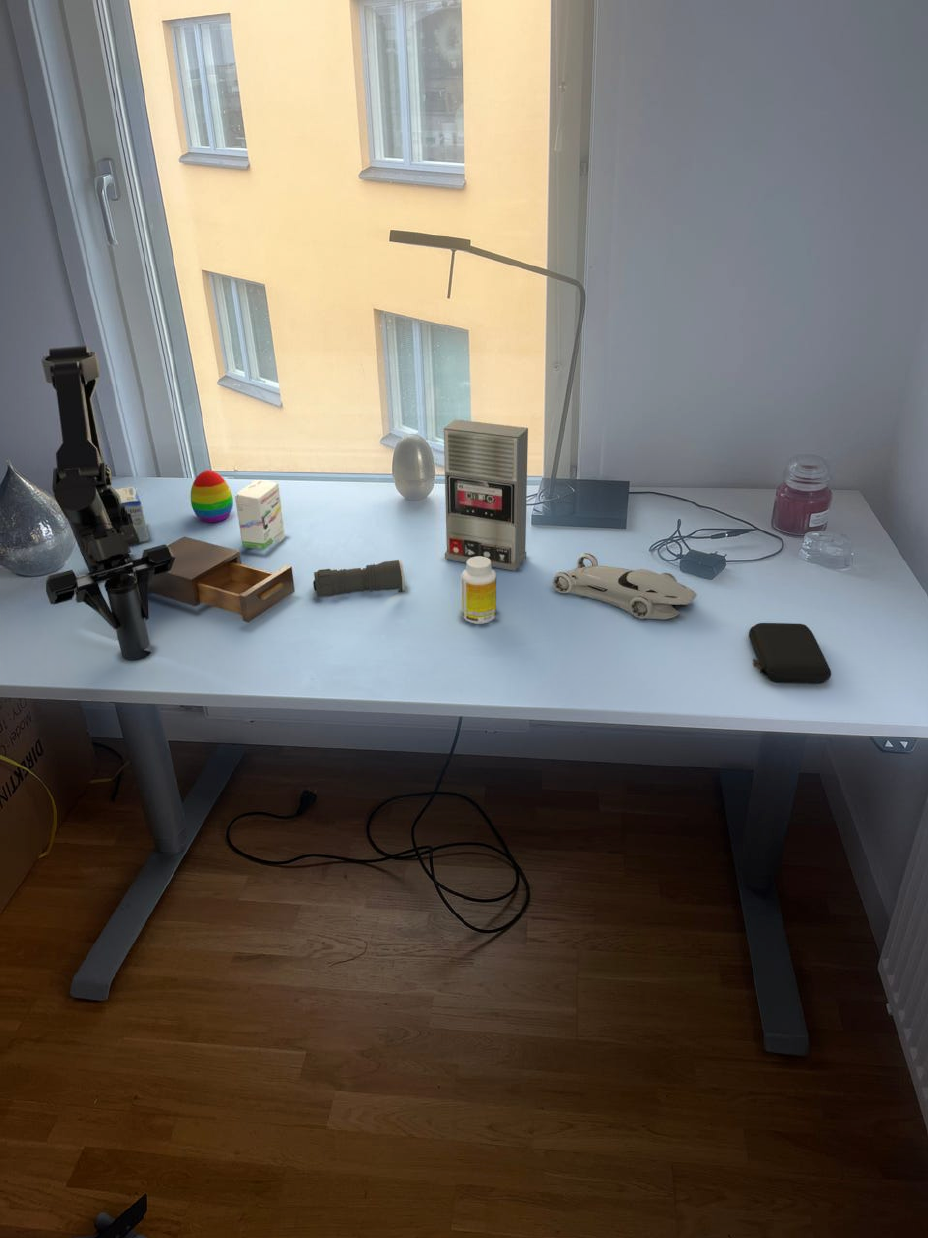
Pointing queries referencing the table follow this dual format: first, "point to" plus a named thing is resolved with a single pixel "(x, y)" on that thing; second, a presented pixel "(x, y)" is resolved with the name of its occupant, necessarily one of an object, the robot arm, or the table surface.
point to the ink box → (260, 514)
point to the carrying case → (788, 653)
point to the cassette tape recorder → (486, 492)
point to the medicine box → (134, 510)
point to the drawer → (245, 589)
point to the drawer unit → (190, 569)
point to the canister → (128, 616)
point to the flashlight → (360, 579)
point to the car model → (626, 588)
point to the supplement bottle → (479, 591)
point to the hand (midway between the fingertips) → (131, 623)
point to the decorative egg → (211, 497)
